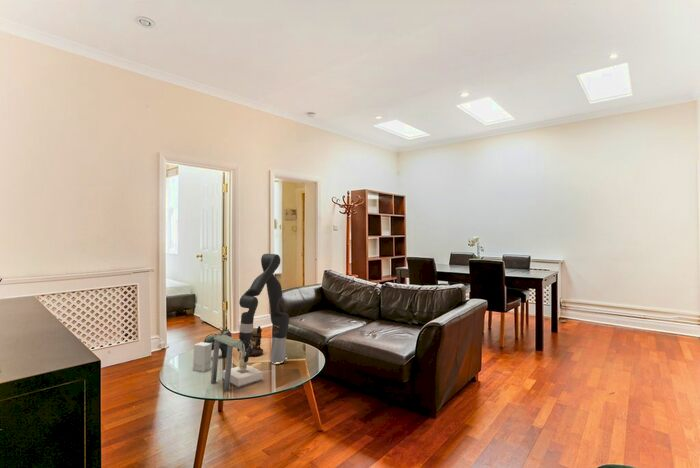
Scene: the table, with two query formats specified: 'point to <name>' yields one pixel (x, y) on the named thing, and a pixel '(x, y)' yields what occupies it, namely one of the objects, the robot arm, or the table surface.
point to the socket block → (243, 376)
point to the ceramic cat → (221, 345)
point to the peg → (242, 360)
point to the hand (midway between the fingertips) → (243, 360)
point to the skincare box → (202, 356)
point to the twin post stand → (231, 343)
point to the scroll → (256, 341)
